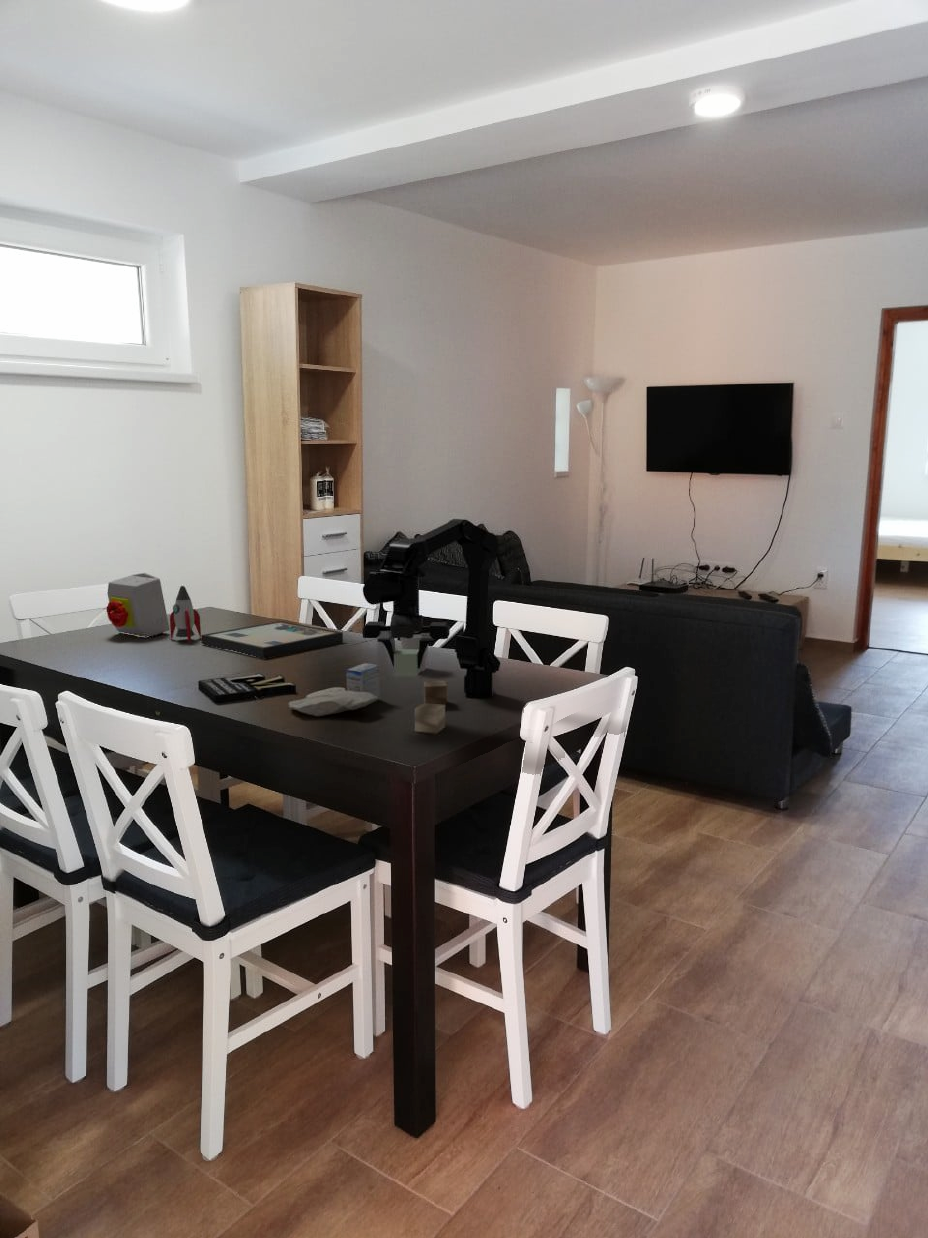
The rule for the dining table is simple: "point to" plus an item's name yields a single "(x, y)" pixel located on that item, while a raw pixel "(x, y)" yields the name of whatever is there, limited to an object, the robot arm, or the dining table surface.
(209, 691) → the decorative sign
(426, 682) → the walnut cube
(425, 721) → the beech cube
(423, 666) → the dixie cup
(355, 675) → the medicine box
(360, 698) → the rock
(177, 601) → the toy
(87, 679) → the dining table surface
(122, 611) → the electrical switch box
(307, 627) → the board game box
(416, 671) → the sage cube
